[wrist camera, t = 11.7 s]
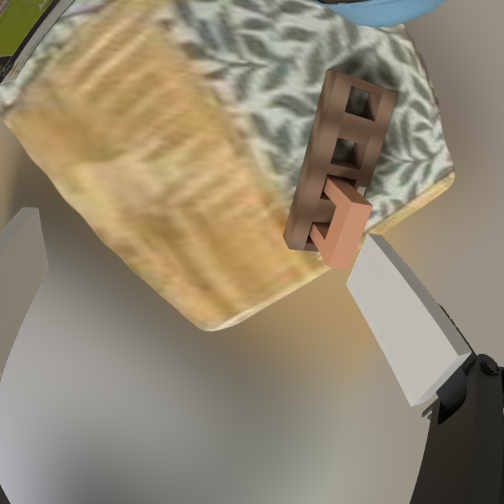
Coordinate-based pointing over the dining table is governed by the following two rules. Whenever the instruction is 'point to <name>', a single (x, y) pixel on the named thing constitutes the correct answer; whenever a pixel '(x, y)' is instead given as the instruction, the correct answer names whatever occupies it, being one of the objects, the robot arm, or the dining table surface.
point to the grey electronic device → (24, 31)
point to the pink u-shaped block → (341, 223)
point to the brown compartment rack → (322, 147)
